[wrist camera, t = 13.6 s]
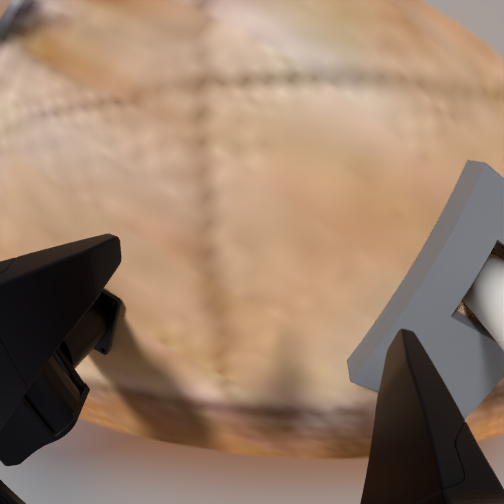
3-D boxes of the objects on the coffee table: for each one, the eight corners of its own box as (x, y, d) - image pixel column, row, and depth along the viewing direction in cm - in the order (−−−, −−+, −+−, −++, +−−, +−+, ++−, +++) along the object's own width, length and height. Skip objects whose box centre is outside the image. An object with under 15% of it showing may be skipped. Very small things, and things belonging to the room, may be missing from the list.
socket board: (456, 402, 23) (463, 419, 21) (347, 360, 23) (350, 381, 21) (561, 247, 17) (578, 256, 15) (467, 160, 17) (485, 162, 15)
